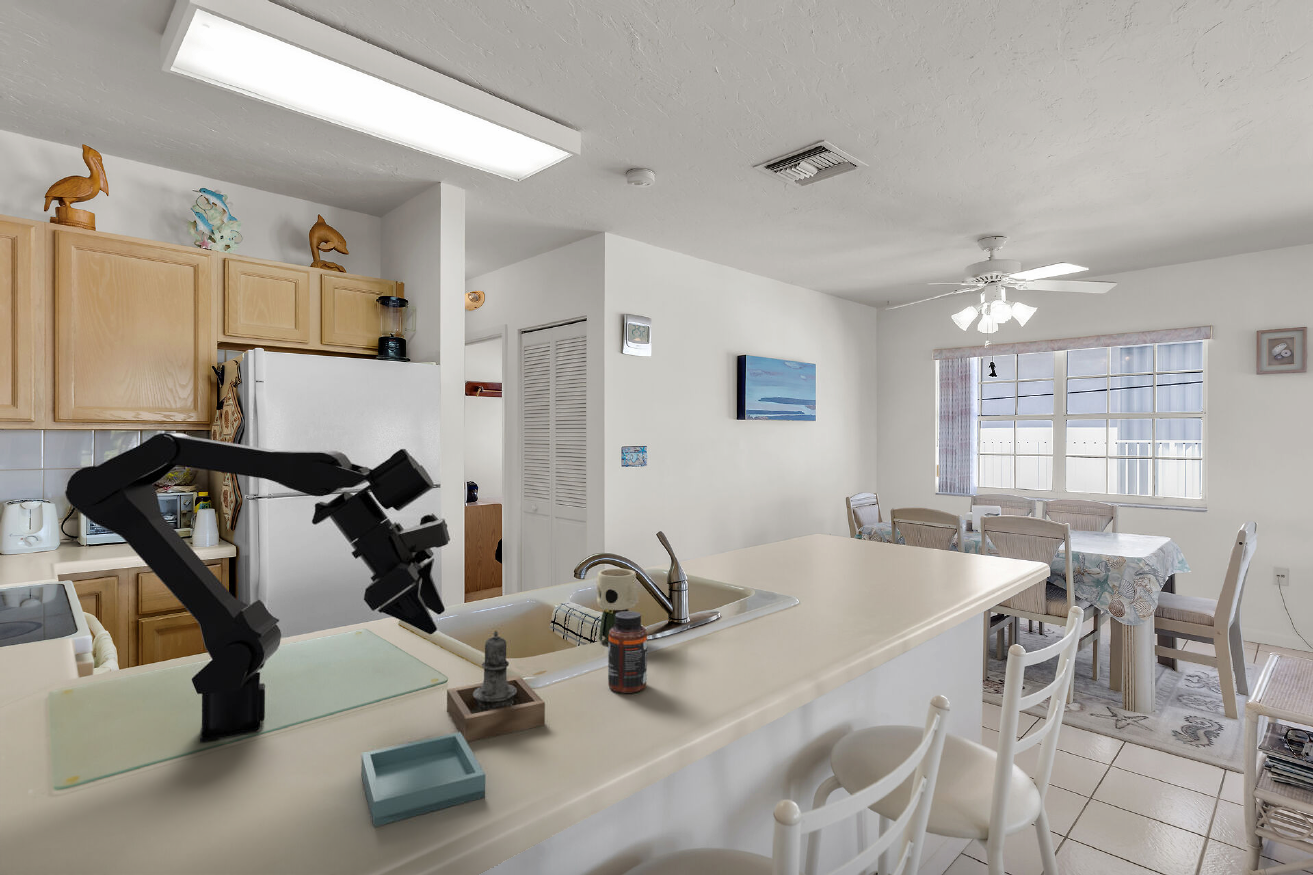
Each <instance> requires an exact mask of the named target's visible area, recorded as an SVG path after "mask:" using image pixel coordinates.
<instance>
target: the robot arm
mask: <svg viewBox="0 0 1313 875" xmlns="http://www.w3.org/2000/svg"><path fill="white" fill-rule="evenodd" d="M177 467H186V468H192V469H200V470H205V471H211V472H218V473H226V474H231V475H237V476H245V477H250V478H257V479H264V480H269V481H270V482H274V483H275V484H276V483H277V484H279V485H281V486H283V487H285V488H288V489H290V490H294V491H297V492H299V493H303V494H306V495H310V496H312V497H313V496H314V497H325V496H328V495H331V494H334V493H337V492H339V491H341V490H343V489H347V488H348V489H349V488H351V489H352V488H355V487H357V486H360V485H362V484H366V483H367V482H368V485H367V486H365V487H364V488H362V489H361V490H359V491H358V492H356V493H355V494H353V493H351V492H349V491H344V492H341V494H339V495H337V496H336V497H334V498H333V499H332V500H330V501H328V502H325V501H324V502H323V501H319V502H316V503H314V513H313V517H312V520H311V524H313V525H315V526H316V525H318V524H320V523H322V522H324V521H325V520H327V519H328V518H330V519H331V521H332V522H333V524H334V525H335V526H336V527H337V529H338V530H339V531H340V533H341V534H342V535H343V536H344V538H345V540H347V541H348V543H349V544H350V546H351V547H352V548H353V551H352V552H351V555H352V556H353V557H354V558H355V560H356V559H358V558H360V559H361V561H363V563H364V564H365V566H366V567H367V568H368V569H369V570H370V572H371V573H372V575H371V576H370V579H371V581H372V582H371V583H370V584H369V585H368V586H367V587H366V588H365V591H364V597H363V600H364V602H365V604H367V606H368V607H369V609H370V610H371V611H372V612H375V611H376V610H377V611H378V613H381V614H382V613H383V614H385V615H388V616H390V617H392V618H395V619H397V620H399V621H401V622H403V623H406V624H408V625H409V626H412V627H414V628H415V629H419V630H420V631H422V632H424V633H426V634H428V635H433V634H434V633H435V632H437V630H438V628H437V625H436V623H435V621H434V619H433V617H432V615H431V613H430V611H432V612H433V613H435V614H437V615H441V614H443V613H445V611H446V608H445V606H444V603H443V601H442V598H441V596H440V594H439V590H438V588H437V586H436V584H435V581H434V578H433V576H432V572H433V567H434V563H435V558H434V557H433V556H435V555H434V552H433V551H432V548H438V549H439V548H441V547H444V546H447V545H449V542H450V541H451V538H450V535H449V530H448V524H447V522H446V519H445V518H443V517H442V518H440V519H439V518H438V517H437V515H435V514H434V513H430V514H425V515H423V516H422V517H421V518H420V520H419V521H420V522H419V525H414V526H411V527H408V528H406V529H405V528H403V526H402V525H401V523H400V522H399V523H397V522H394V523H393V522H392V521H391V520H390V518H389V517H388V515H387V514H386V513H385V512H384V510H383V509H385V510H388V511H389V509H392V508H393V509H394V510H395V511H398V512H399V511H401V510H403V509H404V508H406V507H407V506H409V505H410V504H411V503H413V502H414V501H416V500H418V499H419V498H421V497H422V496H423V495H425V494H427V493H428V492H429V491H431V490H432V489H434V488H435V484H434V482H433V480H432V477H431V476H430V475H429V473H428V472H427V470H426V469H425V468H424V466H423V465H422V464H421V465H420V463H419V462H418V461H417V460H416V459H415V458H414V457H413V456H412V455H411V454H410V453H409V452H408V451H407V449H406V448H400V449H399V450H397V451H395V452H394V453H393V454H391V456H390V457H389V458H388V459H386V460H384V461H383V462H382V463H380V464H378V465H377V466H375V467H374V468H372V469H371V468H369V467H367V466H362V465H359V464H356V463H352V462H351V460H350V459H349V458H348V456H347V455H346V454H345V453H343V452H341V451H337V450H276V449H270V448H264V447H258V446H251V445H245V444H239V443H234V442H233V443H232V442H226V441H221V440H213V439H207V438H201V437H197V436H196V437H195V436H190V435H187V434H185V433H182V432H166V433H165V432H164V433H163V432H161V433H157V434H154V435H152V436H151V437H150V438H149V439H146V440H145V441H144V442H142V443H141V444H138V445H137V446H135V447H132V448H131V449H129V450H127V451H124V452H122V453H120V454H118V455H116V456H113V457H111V458H109V459H107V460H105V461H104V462H103V463H101V464H99V465H92V466H91V465H90V466H86V467H82V468H80V469H78V470H76V471H75V472H74V474H72V475H71V476H70V478H69V480H68V482H67V484H66V490H65V491H64V494H65V498H66V500H67V501H68V503H69V505H70V506H72V507H73V508H74V509H75V510H77V511H78V512H79V513H81V515H82V516H84V517H85V518H87V519H88V520H89V521H91V522H92V523H93V524H95V525H97V526H99V527H101V528H103V529H104V530H107V531H109V532H111V533H113V534H116V535H118V536H120V537H121V538H122V539H123V540H124V541H125V543H127V544H128V545H129V546H130V548H131V549H132V550H133V551H134V552H135V554H137V556H138V557H139V558H140V559H141V560H142V561H143V562H144V563H145V564H146V565H147V567H148V568H149V569H150V570H151V571H152V572H153V573H154V575H155V576H156V577H157V578H158V579H159V580H160V581H161V583H162V584H164V586H165V587H166V588H167V589H168V590H169V591H170V593H171V594H172V595H173V596H174V597H175V598H176V599H177V601H178V602H179V603H181V605H182V606H183V607H184V608H185V610H186V611H188V613H190V615H191V616H192V617H193V618H194V619H195V621H196V622H197V624H198V626H199V628H200V629H199V630H200V632H201V636H202V640H203V645H204V648H205V650H206V651H207V653H208V655H209V656H210V658H211V660H210V661H209V662H208V663H207V664H206V665H204V666H203V667H202V669H201V670H200V671H198V672H197V673H196V674H195V675H194V676H193V677H192V678H191V683H192V685H193V687H194V690H195V692H196V694H197V695H201V728H200V734H199V739H198V740H199V742H209V741H212V740H218V739H224V738H229V737H235V736H239V735H240V736H241V735H245V734H249V733H250V734H251V733H257V732H259V731H260V730H261V722H264V721H265V717H266V716H265V715H266V684H265V683H264V682H262V683H261V672H259V671H260V670H262V669H263V668H264V666H265V664H266V662H267V660H268V659H270V657H272V656H273V655H274V654H275V653H276V652H277V651H278V648H279V647H280V644H281V641H282V640H281V639H282V631H281V629H280V627H279V626H278V625H277V624H278V623H279V622H280V619H279V618H277V617H275V616H273V615H272V614H271V613H270V612H269V611H268V609H267V608H266V605H265V604H264V603H263V601H262V600H260V599H259V598H258V599H256V600H255V601H253V602H252V603H250V604H247V603H245V602H243V601H241V600H238V599H237V598H235V596H234V595H232V593H230V591H229V590H228V589H227V588H226V587H225V586H224V584H223V583H222V582H221V581H220V580H219V579H218V577H217V576H216V575H215V574H214V573H213V571H212V570H210V569H209V567H208V566H207V565H206V564H205V563H204V561H202V559H201V558H200V557H199V556H198V555H197V553H195V551H194V550H193V549H192V548H191V546H190V545H189V544H188V543H187V542H186V541H185V540H184V538H182V537H181V535H180V534H179V533H178V532H177V531H176V529H175V528H174V527H173V526H172V525H171V523H170V522H169V521H167V519H166V518H165V517H164V515H163V512H162V511H161V505H160V501H159V497H158V493H157V491H156V490H155V488H154V485H155V484H157V483H159V481H161V480H163V479H164V478H165V477H167V476H168V475H169V474H170V473H171V472H172V471H174V470H175V469H176V468H177ZM371 493H372V494H371ZM372 495H373V496H372ZM378 503H379V504H378ZM381 506H382V508H383V509H382V508H381ZM426 560H429V561H427V562H426V563H425V561H426ZM429 610H430V611H429Z"/></svg>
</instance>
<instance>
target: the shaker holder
mask: <svg viewBox="0 0 1313 875" xmlns="http://www.w3.org/2000/svg"><path fill="white" fill-rule="evenodd" d="M506 678H507V677H506ZM507 683H508V684H509V685H512V686H514V687H515V688H516V689H517V693H516V694H515V696H514V701H515V702H516V703H517V704H515V705H511V706H509V707H505V708H500V709H495V710H490V711H485V712H482V711H480V712H476V713H471V711H470V710H473V709H479V708H478V707H477V704H476V702H475V698H474V697H473V692H474V691H475V690H476V689H477V688H479V687H481V686H482V685H483V682H480V683H475V684H470V685H465V686H464V685H463V686H459V687H453V688H452V687H451V688H448V689H446V712H447V713H448V714H449V717H450V718H451V720H452V721H453V723H454V725H455V727H456V729H457V730H458V732H461V734H462V735H463V737H464V739H465V741H466V742H467V743H469V742H474V741H479V740H482V739H487V738H490V737H491V738H492V737H495V736H496V737H497V736H500V735H505V734H509V733H514V732H518V731H523V730H527V729H532V728H537V727H541V726H544V725H545V723H546V721H545V719H546V713H545V712H546V702H545V701H544V700H543V699H542V698H541V697H540V696H539V695H538V694H537V693H536V691H535V690H534V689H533V688H532V687H531V686H530V685H529V684H528V682H526V681H525V680H524V679H523V678H522V677H521V676H514V677H513V676H512V677H508V678H507Z"/></svg>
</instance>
